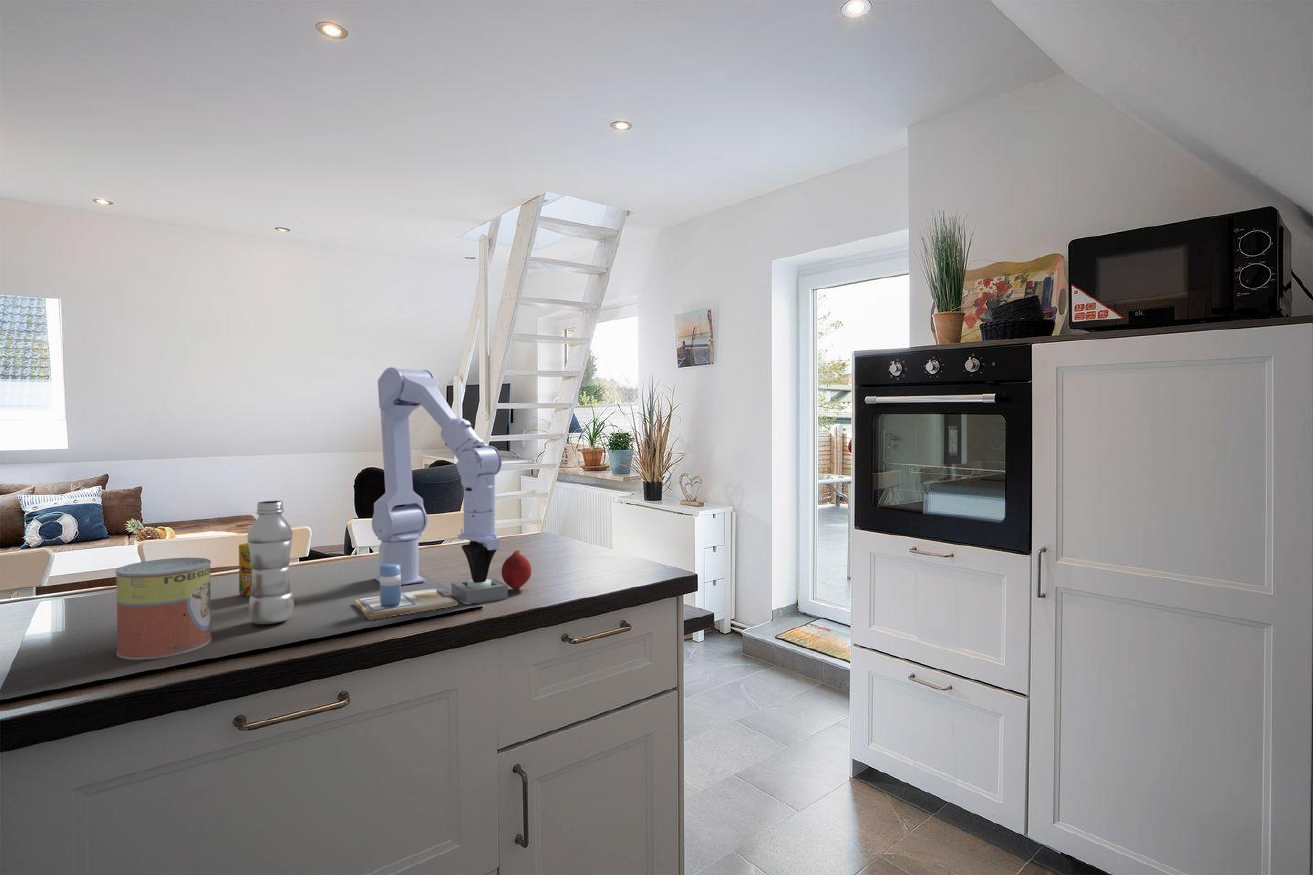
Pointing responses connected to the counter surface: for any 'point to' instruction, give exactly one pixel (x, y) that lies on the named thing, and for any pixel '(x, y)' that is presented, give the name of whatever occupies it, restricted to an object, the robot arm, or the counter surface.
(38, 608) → the counter surface
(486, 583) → the button
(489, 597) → the button pad
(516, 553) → the onion
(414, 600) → the beige tray
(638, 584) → the counter surface
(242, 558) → the crayon box
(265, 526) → the plastic bottle
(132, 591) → the canned food
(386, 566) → the blue capped bottle
